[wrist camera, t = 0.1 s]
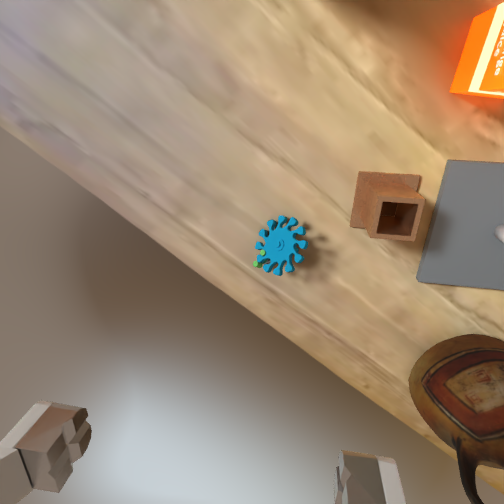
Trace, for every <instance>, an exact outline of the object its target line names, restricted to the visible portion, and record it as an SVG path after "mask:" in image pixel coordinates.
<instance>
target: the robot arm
mask: <svg viewBox="0 0 504 504" xmlns="http://www.w3.org/2000/svg"><path fill="white" fill-rule="evenodd" d="M87 417H88V413H87V410H86V408H81V407H76V406H70V405H65V404H60V403H55V402H48V401H43V400H41V401H39V402H37V403H36V404H34V406H33V407H32V408H31V409H30V410H29V411H28V412H27V413H26V414H25V415H24V417H23V418H22V419H21V420H20V421H19V422H18V423H17V424H16V425H15V427H14V428H13V429H12V430H11V431H10V432H9V433H8V434H7V435H6V437H5V438H4V439H3V440H2V441H1V442H0V504H16V503H17V502H19V501H20V500H21V499H23V498H24V497H25V496H26V495H28V494H29V493H30V492H31V491H32V490H33V489H38V490H45V491H51V492H57V493H59V492H60V490H61V489H62V487H63V486H64V484H65V483H66V481H67V479H68V478H69V476H70V475H71V473H72V472H73V463H74V462H75V461H76V460H78V459H79V458H81V457H82V456H83V454H84V453H85V451H86V449H87V447H88V445H89V442H90V439H91V432H92V430H91V425H90V424H89V423H88V422H87V421H86V418H87ZM334 498H335V504H406V500H405V496H404V492H403V489H402V484H401V480H400V476H399V472H398V468H397V464H396V462H395V460H394V459H393V458H387V457H380V456H375V455H371V454H365V453H358V452H351V451H344V450H341V451H340V454H339V466H338V467H336V472H335V480H334Z"/></svg>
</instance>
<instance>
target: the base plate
mask: <svg viewBox="0 0 504 504" xmlns="http://www.w3.org/2000/svg"><path fill="white" fill-rule="evenodd" d="M416 279H417V280H418V282H425V283H436V284H446V285H456V286H467V287H477V288H488V289H498V290H504V163H501V162H483V161H465V160H447V164H446V168H445V171H444V175H443V179H442V183H441V186H440V190H439V194H438V197H437V201H436V205H435V209H434V212H433V216H432V220H431V223H430V227H429V231H428V235H427V238H426V242H425V246H424V249H423V253H422V257H421V261H420V264H419V268H418V272H417V275H416Z"/></svg>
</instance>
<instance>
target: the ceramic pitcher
mask: <svg viewBox="0 0 504 504" xmlns="http://www.w3.org/2000/svg"><path fill="white" fill-rule="evenodd" d="M409 388H410V393H411V397H412V399H413V402H414V404H415V406H416V408H417V410H418V411H419V413H420V414H421V416H422V417H423V419H424V420H425V422H426V423H427V424H428V425H429V426H430V428H431V429H432V430H433V431H434V432H435V434H436V435H437V436H438V437H439V438H440V439H442V440H443V441H444V442H445V443H446V444H447V445H449V446H450V447H451V448H453V449H454V450H456V452H457V458H458V465H459V470H460V477H461V481H462V484H463V487H464V490H465V492H466V495H467V496H468V498H469V500H470V502H471V504H484V503H483V502H482V501H481V499H480V498H479V496H478V494H477V490H476V484H475V471H476V468H477V466H478V465H485V466H489V467H493V468H498V469H504V342H503V341H501V340H498V339H496V338H493V337H489V336H485V335H477V334H467V335H461V336H457V337H454V338H451V339H447V340H444V341H442V342H440V343H438V344H436V345H435V346H433V347H431V348H430V349H429V350H427V351H426V352H425V353H424V354H423V355H422V356H421V357H420V358H419V359H418V360H417V362H416V363H415V365H414V367H413V369H412V371H411V374H410V377H409Z"/></svg>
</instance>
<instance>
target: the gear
mask: <svg viewBox="0 0 504 504" xmlns="http://www.w3.org/2000/svg"><path fill="white" fill-rule="evenodd" d="M286 222H287V217H284V216H279V217H278V225H277V227H276V229H275V230H274V227H275V226H276V221H274V220H269V221H268V222H267V225H268V227H269V230H270V231H269V236H268V237H267V230H264V229H262V230H261V231H260V232H259V236H261V237H263V238H264V240H265V242H266V244H265V246H264V245H263V243H261V242H257V243H256V246H255V248H256V249H258V250H261V251H260V254H261V255H257V261H254V263H253V266H254V267H258V268H261V267H262V264H265V265H264V266H263V269H264V270H265V272H268V273H269V272H271V270H272V268H273V266H274V265H275V264H277V263H278V267H277V268H275V269H274V271H273V273H274V274H275V275H279V276H281V275H282V273H283V271H282V269H283V265H284V263H285V262H286V261H287V265H286V267H285V271H286V272H293V271H294V270H295V268H294V266H293V264H292V256H293V254H294V255H295V262H297V263H301V262H302V261H303V260H304V256H302V255H300V254H299V253H298V251H299V249H298V248H296V246H297V244H299V247H300V248H302V249H307V247H308V242H307V241H305V240H302V241H298V240H296V238H295V236H296V234H300V235H305V234H306V230H305V228H304V227H302V226H300V227H299V228H298V229H296V230H294V231H290V228H291V227H292V226H297V225H298V221H297V219H295V218H293V217H291V218H290V220H289V222H288V224H287V225H286V226H285V227H284V228H282V226H283V224H284V223H286ZM262 249H263V250H262ZM269 263H270V264H269Z"/></svg>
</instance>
